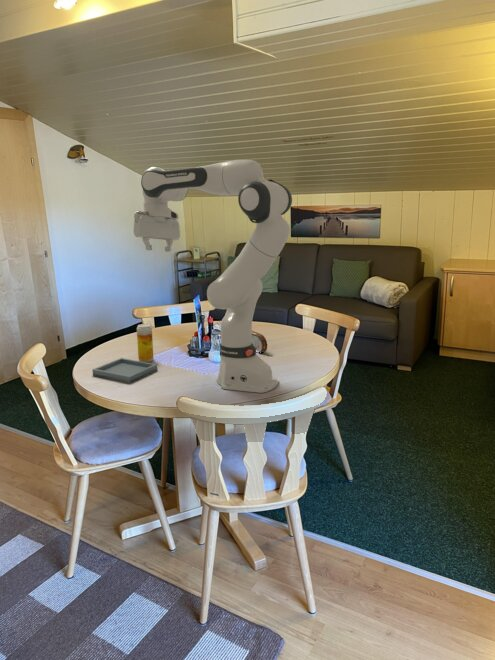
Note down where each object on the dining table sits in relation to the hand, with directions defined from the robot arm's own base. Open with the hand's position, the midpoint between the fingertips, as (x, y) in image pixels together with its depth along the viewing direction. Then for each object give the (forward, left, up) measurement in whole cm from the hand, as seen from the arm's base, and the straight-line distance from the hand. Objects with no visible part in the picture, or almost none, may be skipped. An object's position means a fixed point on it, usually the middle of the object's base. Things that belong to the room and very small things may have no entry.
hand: (158, 250), depth 180 cm
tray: (+9, +12, -46) cm, 48 cm away
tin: (-22, -37, -46) cm, 63 cm away
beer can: (+12, -4, -46) cm, 48 cm away
